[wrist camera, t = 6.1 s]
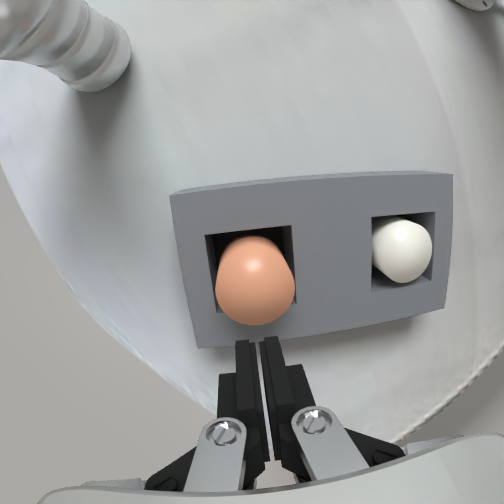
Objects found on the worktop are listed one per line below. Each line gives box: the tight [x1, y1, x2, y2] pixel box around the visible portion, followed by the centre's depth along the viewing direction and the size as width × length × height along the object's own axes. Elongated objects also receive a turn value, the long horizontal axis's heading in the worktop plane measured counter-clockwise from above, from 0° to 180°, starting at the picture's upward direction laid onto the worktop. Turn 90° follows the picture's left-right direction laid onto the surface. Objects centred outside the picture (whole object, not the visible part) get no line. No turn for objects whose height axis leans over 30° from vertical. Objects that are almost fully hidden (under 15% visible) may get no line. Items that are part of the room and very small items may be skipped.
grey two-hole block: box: [170, 171, 453, 349], centre depth 24 cm, size 22×12×5 cm, turn 96°
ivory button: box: [371, 215, 432, 283], centre depth 24 cm, size 5×5×5 cm
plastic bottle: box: [0, 0, 131, 92], centre depth 12 cm, size 6×7×20 cm
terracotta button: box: [215, 233, 295, 325], centre depth 21 cm, size 5×5×5 cm
